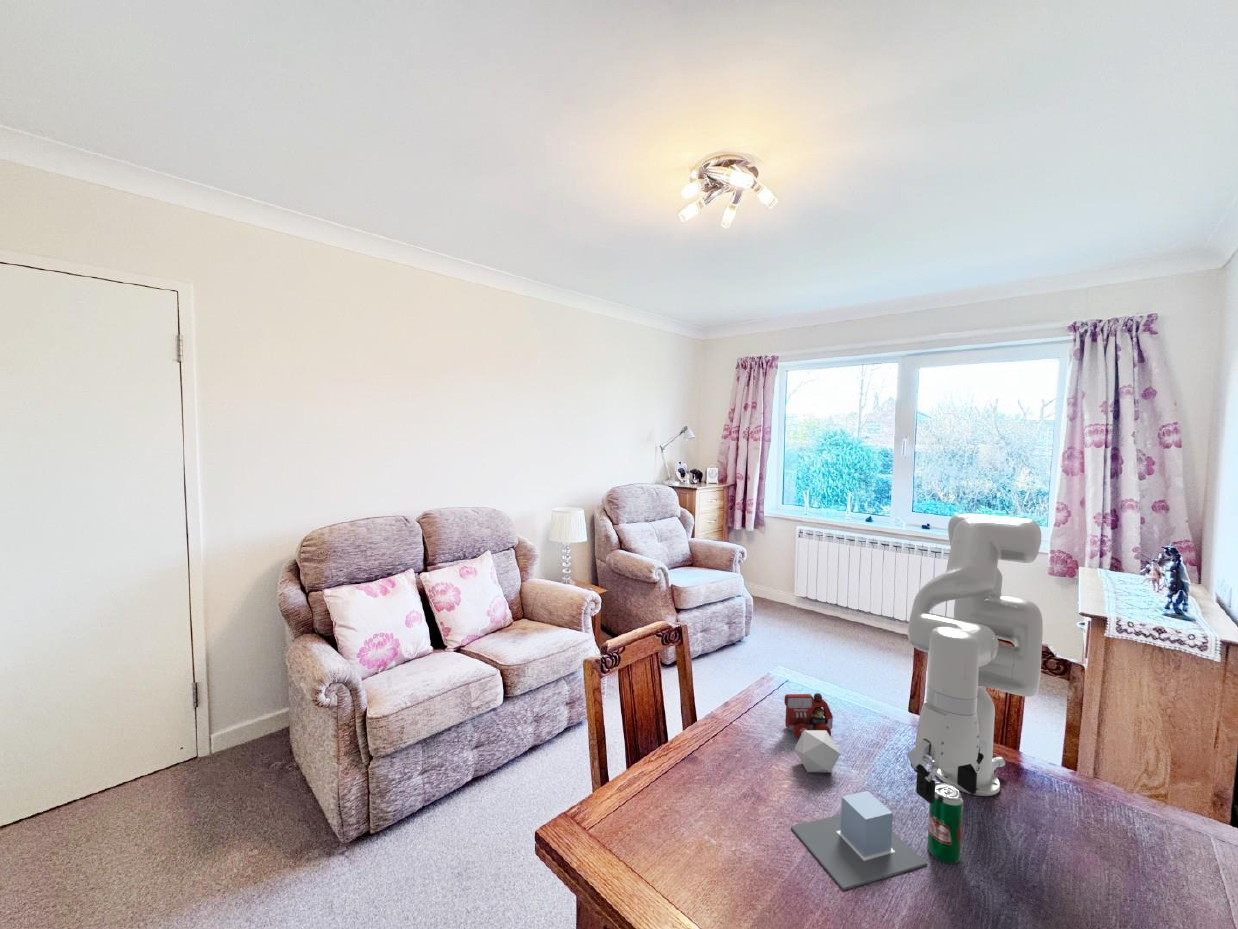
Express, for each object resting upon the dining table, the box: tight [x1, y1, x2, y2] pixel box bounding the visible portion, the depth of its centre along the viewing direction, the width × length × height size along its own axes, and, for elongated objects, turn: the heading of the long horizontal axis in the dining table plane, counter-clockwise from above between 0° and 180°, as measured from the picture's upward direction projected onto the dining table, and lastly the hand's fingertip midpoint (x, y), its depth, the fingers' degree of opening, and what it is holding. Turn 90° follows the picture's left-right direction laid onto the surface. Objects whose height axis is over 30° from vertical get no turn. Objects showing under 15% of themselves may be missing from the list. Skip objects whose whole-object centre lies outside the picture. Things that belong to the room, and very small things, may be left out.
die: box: [794, 730, 841, 773], centre depth 116 cm, size 8×9×10 cm
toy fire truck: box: [784, 692, 834, 741], centre depth 129 cm, size 7×12×10 cm, turn 94°
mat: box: [790, 813, 928, 891], centre depth 94 cm, size 18×14×1 cm
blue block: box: [840, 790, 894, 857], centre depth 94 cm, size 6×6×7 cm
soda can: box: [926, 782, 964, 864], centre depth 92 cm, size 5×5×12 cm
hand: (945, 793), depth 91 cm, fingers open, 9 cm apart
